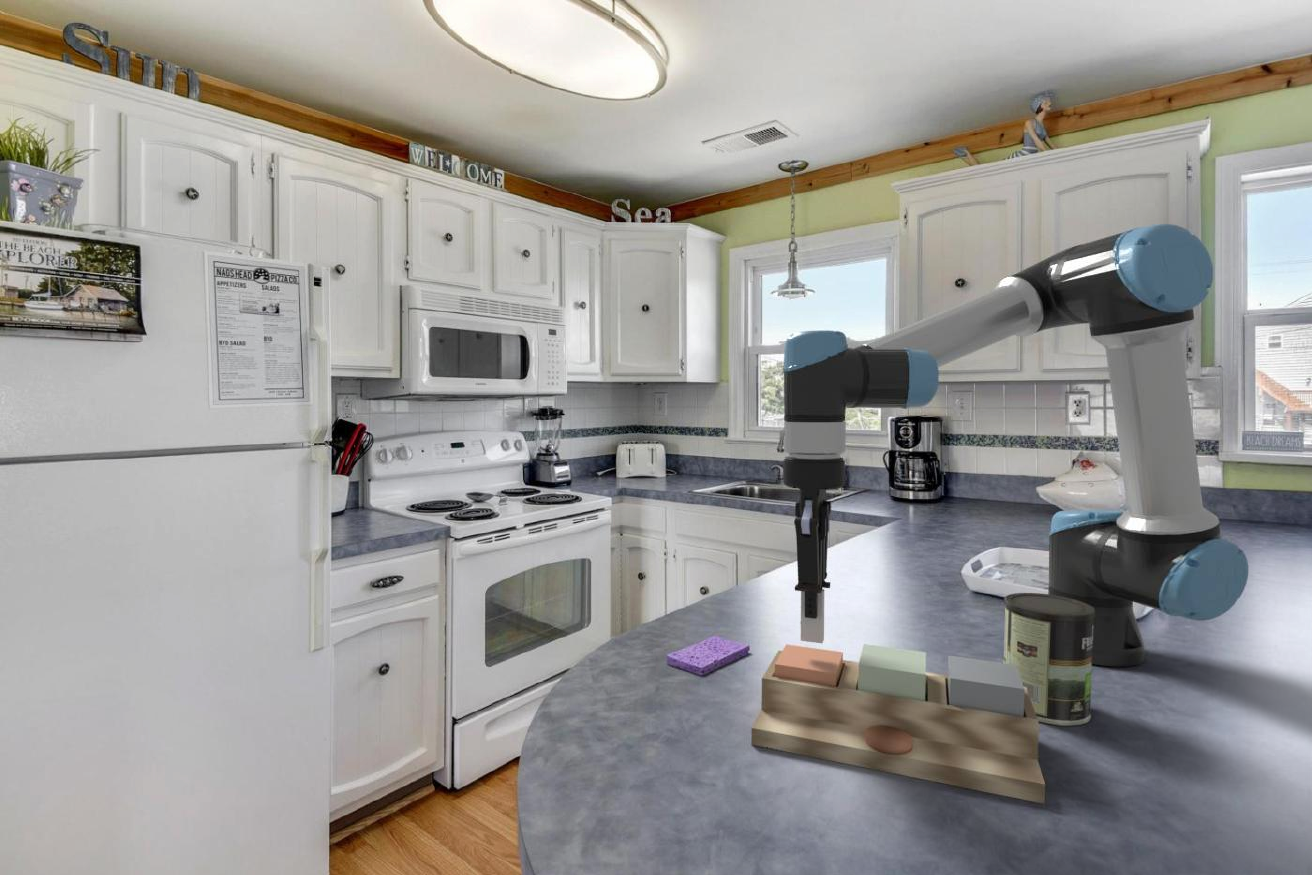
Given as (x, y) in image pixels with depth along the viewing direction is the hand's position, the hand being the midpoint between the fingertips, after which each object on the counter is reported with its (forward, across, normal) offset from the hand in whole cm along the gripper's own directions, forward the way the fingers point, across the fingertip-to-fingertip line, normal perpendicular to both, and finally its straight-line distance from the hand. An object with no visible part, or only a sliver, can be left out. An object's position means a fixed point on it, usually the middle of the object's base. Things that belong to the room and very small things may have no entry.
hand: (812, 639), depth 85 cm
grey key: (+6, 0, +20) cm, 21 cm away
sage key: (+6, 0, +10) cm, 11 cm away
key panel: (+10, +3, +10) cm, 14 cm away
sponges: (+11, -13, -18) cm, 25 cm away
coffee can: (+11, -14, +28) cm, 33 cm away
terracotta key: (+7, 0, 0) cm, 7 cm away
